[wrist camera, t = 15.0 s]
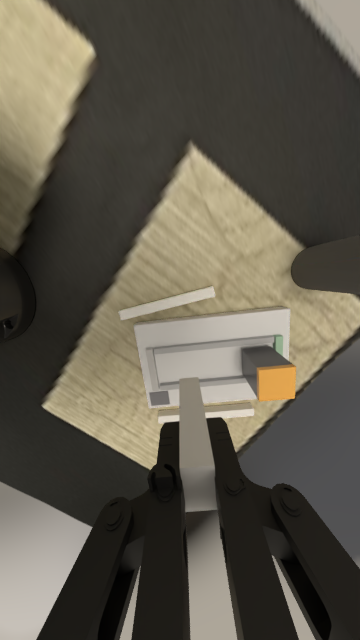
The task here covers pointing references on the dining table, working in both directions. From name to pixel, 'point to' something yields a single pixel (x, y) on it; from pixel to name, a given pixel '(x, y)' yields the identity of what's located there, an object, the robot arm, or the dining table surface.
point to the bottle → (330, 266)
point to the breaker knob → (268, 373)
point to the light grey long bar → (211, 412)
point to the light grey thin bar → (167, 303)
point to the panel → (207, 352)
